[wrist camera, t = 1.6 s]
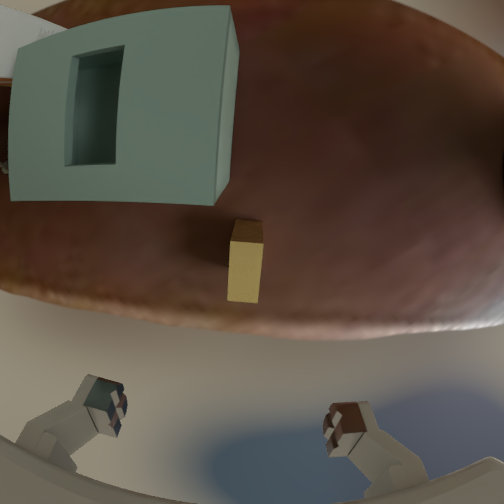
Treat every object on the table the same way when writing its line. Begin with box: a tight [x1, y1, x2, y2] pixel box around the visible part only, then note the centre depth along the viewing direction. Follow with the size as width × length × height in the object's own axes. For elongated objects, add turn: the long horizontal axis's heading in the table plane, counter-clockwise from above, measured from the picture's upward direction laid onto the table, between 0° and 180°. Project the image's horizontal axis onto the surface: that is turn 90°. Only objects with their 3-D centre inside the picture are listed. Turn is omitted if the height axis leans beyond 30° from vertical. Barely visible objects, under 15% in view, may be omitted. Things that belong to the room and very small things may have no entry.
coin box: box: [8, 5, 240, 206], centre depth 19 cm, size 16×12×10 cm
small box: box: [0, 5, 68, 87], centre depth 14 cm, size 8×6×13 cm
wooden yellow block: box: [227, 219, 263, 303], centre depth 25 cm, size 2×5×6 cm, turn 176°
